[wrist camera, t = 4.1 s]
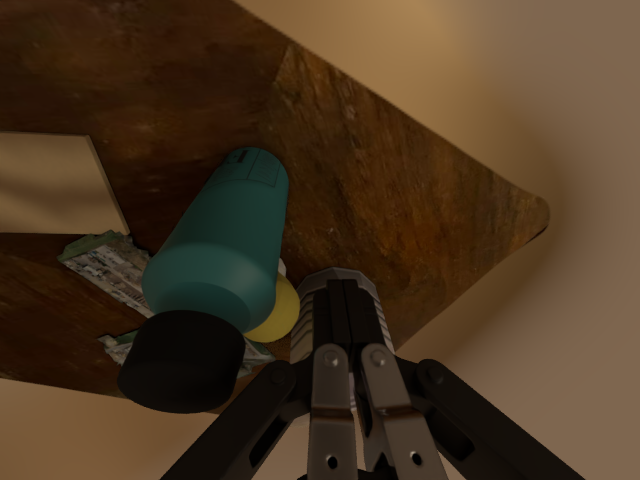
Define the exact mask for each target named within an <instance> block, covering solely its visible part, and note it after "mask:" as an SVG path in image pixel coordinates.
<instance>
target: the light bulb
mask: <svg viewBox="0 0 640 480" xmlns="http://www.w3.org/2000/svg"><path fill="white" fill-rule="evenodd" d="M285 275H286V267H285V265H284V264H283V261H282V259H281V258H279V266H278V275H277V283H276V303H275V306H274V309H273V311H272V313H271V315H270V316H269V317H268V318H267V320H266V321H265V322H264V323H262V324H261V325H260V326H258V327H257V328H255V329H253V330H252V331H250V332H248V333H245V334H243V335H244V336H245V337H247V338H248V339H250V340H253V341H257V342H272V341H275V340H277V339H280V338H282V337H283V336H284V335H286V334H287V333H288V332H290V330H291V329H292V328H293V326H294V325H295V323H296V321H297V319H298V316H299V310H300V299H299V297H298V294H297V292H296V291H295V289H294V288H293V286H292V285H291V283H290V282H289V281H288V280H287V279H286V278H285Z"/></svg>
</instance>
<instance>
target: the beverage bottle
mask: <svg viewBox="0 0 640 480" xmlns="http://www.w3.org/2000/svg"><path fill="white" fill-rule="evenodd" d="M245 147H246V148H240V147H239V148H240V149H237V150H234V149H233V150H234V151H233V152H231V153H230V154H228V155H227V154H226V157H225V158H224V159H223V161H222V162H221V163H220V165H219V166H218V168H217V169H215V168H214V169H215V170H216V171H215V172H214V173H213V174H211V175H209V176H210V177H209V178H207V180H206V181H205V183H204V184H205V185H204V187H203V189H202V190H201V191H200V193H199V194H198V195H197V197H196V198H195V197H194V198H195V200H194V201H193V202H192V204H191V205H190V206H189V208H188V209H187V211H186V212H185V213H184V215H183V212H182V218H181V220H180V221H179V223H178V224H177V226H176V227H175V229H174V230H173V229H172V230H173V232H172V233H171V235H170V236H169V237H168V239H167V240H166V242H165V243H164V244H163V246H162V247H161V249H160V250H159V251H158V253H157V254H156V255H154V256H153V258H152V259H151V260H150V261H149V262H148V264H147V266H146V267H145V269H144V272H143V274H142V280H141V288H142V292H143V295H144V298H145V300H146V302H147V304H148V306H149V307H150V309H151V310H152V312H153V313H154V315H153V316H151V317H150V318H148V319H147V320H146V321H145V322H144V323H143V324H142V326H141V327H140V329H139V331H138V332H137V334H136V336H135V338H134V340H133V343H132V347H131V349H130V351H129V353H128V355H127V357H126V359H125V361H124V363H123V365H122V367H121V369H120V371H119V376H118V378H117V384H118V387H119V389H120V391H121V392H122V393H123V394H124V395H125V396H126V397H127V398H129V399H130V400H132V401H134V402H135V403H137V404H139V405H142V406H144V407H147V408H150V409H153V410H157V411H162V412H168V413H179V414H180V413H181V414H189V413H200V412H205V411H209V410H212V409H215V408H217V407H220V406H221V405H223V404H224V403H226V402H227V401H228V400H229V398H230V397H231V394H232V393H233V390H234V386H235V383H236V379H237V376H238V372H239V369H240V367H241V365H242V362H243V359H244V354H245V349H246V343H245V339H244V337H243V334H245V333H248V332H250V331H252V330H253V329H255V328H257V327H258V326H260V325H261V324H262V323H264V322H265V321H266V320H267V318H268V317H269V316H270V315H271V313H272V311H273V309H274V306H275V303H276V283H277V275H278V266H279V258H280V249H281V241H282V236H283V228H284V222H285V221H286V220H285V213H286V209H287V208H288V207H287V208H286V204H287V205H288V204H289V202H287V195H288V196H289V194H288V187H289V188H290V186H289V182H288V176H287V173H286V171H285V169H284V167H283V165H282V164H281V162H280V160H279V159H278V158H277V157H275V156H273V154H270V152H268V151H266V150H262V149H261V148H260V149H259V148H257V147H256V148H253V147H251V146H245ZM235 149H236V148H235ZM224 156H225V155H224ZM221 160H222V159H221ZM221 160H220V161H221ZM220 161H219V162H220ZM206 182H207V183H206ZM202 185H203V184H202ZM201 188H202V187H200V189H201ZM195 194H196V193H195ZM194 198H193V199H194ZM193 199H192V200H193ZM192 200H191V201H192ZM191 201H190V202H191ZM288 201H289V200H288ZM190 202H189V203H190ZM189 203H188V204H189ZM287 214H288V213H287ZM179 216H180V215H179ZM286 216H287V215H286ZM286 218H287V217H286ZM174 225H175V224H174ZM173 227H174V226H173Z"/></svg>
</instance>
